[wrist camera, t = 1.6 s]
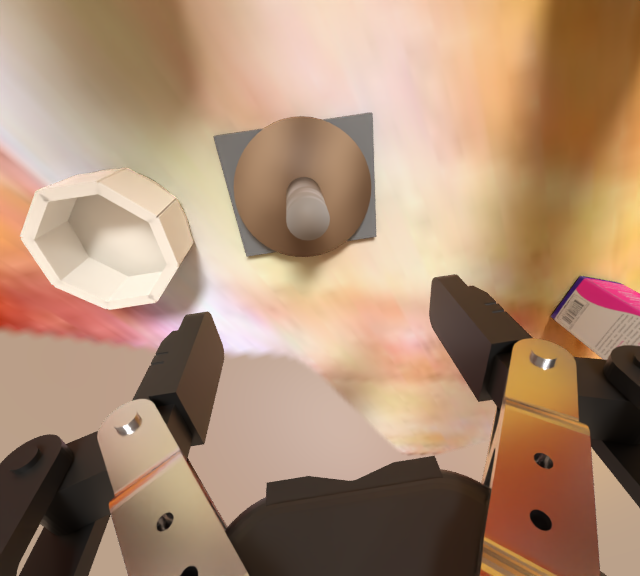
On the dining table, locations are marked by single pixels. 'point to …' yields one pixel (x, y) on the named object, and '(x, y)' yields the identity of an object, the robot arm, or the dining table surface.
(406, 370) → the dining table surface
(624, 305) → the supplement box
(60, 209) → the bowl
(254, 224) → the lid
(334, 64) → the dining table surface
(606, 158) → the dining table surface
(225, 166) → the mat
